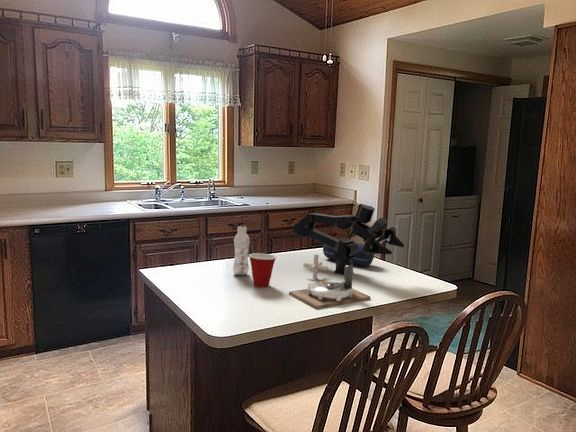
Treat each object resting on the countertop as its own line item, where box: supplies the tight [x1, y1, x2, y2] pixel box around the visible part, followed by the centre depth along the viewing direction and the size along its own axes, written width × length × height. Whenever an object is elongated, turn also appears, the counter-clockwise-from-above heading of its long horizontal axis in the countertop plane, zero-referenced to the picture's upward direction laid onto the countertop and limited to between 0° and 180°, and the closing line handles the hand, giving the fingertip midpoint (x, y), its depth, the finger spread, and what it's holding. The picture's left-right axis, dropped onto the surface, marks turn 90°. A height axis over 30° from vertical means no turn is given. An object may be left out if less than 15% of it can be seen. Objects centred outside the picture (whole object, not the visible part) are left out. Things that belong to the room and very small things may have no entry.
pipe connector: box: [303, 253, 329, 280], centre depth 197 cm, size 10×10×10 cm
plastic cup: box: [248, 252, 277, 288], centre depth 184 cm, size 11×11×12 cm
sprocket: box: [306, 264, 354, 301], centre depth 174 cm, size 17×17×10 cm
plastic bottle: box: [232, 225, 251, 276], centre depth 196 cm, size 6×7×20 cm
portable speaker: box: [322, 242, 375, 267], centre depth 225 cm, size 25×10×10 cm, turn 52°
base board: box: [288, 280, 371, 310], centre depth 174 cm, size 24×17×3 cm
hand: (397, 249), depth 190 cm, fingers open, 9 cm apart
